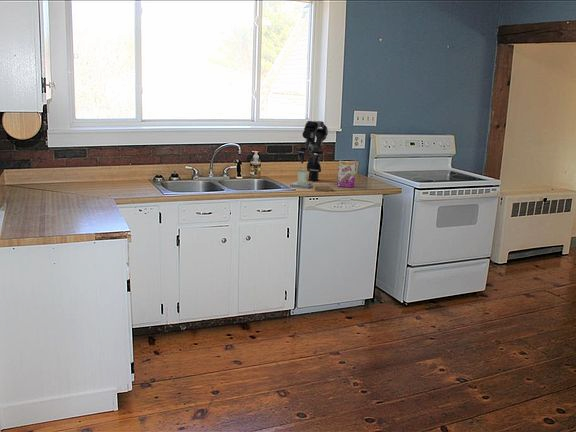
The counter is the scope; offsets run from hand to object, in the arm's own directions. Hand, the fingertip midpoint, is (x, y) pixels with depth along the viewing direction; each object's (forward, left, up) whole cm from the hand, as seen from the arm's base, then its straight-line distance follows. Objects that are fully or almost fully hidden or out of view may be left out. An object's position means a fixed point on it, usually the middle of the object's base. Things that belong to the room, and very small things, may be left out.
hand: (308, 164), depth 381 cm
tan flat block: (+8, +20, -13) cm, 25 cm away
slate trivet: (+10, +4, -13) cm, 17 cm away
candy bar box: (-14, +21, -13) cm, 29 cm away
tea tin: (+10, +4, -11) cm, 16 cm away
